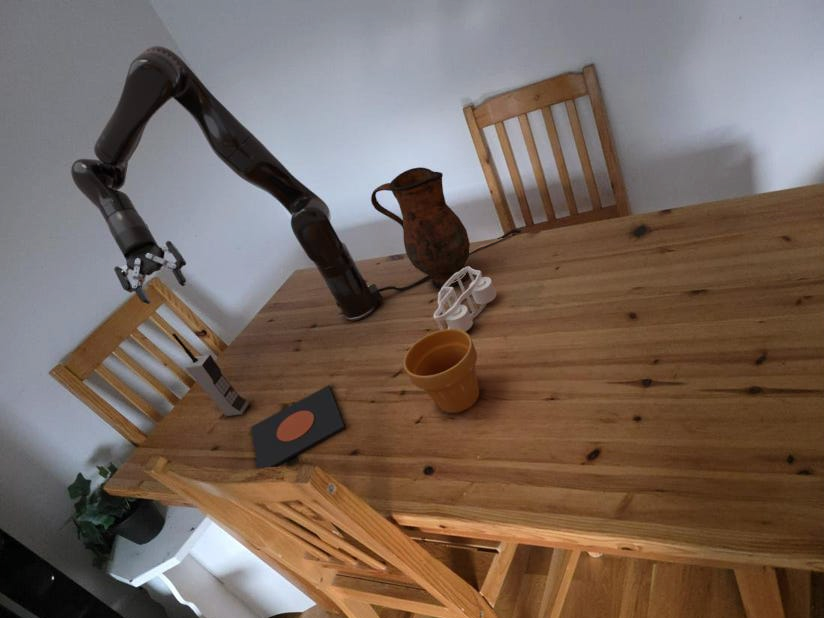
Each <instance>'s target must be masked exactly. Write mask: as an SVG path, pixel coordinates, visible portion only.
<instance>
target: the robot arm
mask: <svg viewBox="0 0 824 618" xmlns="http://www.w3.org/2000/svg"><path fill="white" fill-rule="evenodd" d="M172 99H173V100H175V101H176V102H177V103H178V104H179V105H180V106H181V107H182V108H184V110H185V111H187V112H188V113H189V115H190V116H191V117H192V118H193V119H194V121H195V122H196V123H197V125H198V127H199V128H200V130H201V132H202V134H203V136H204V138H205V139H206V141H207V144H208V145H209V146H210V148H211V150H212V151H213V153H214V154H215V155H216V156H217V158H218V159H219V160H221V162H223V163H224V164H225V165H226V166H227V167H228V168H229V169H230V170H231V171H232V172H233V173H234V174H235V175H237V176H238V177H239V178H240V179H242V180H244V181H246V182H247V183H249V184H251V185H253V186H255V187H256V188H258V189H260V190H262V191H264V192H266V193H268V194H269V195H271V196H272V197H273V198H274V199H275V200H277V201H278V202H279V203H280V204H281V206H283V208H284V209H285V210H286V211H287V212H288V213H289V214H290V215H291V216H290V227H291V230H292V234H293V235H294V236H295V239H296V240H297V242H298V243H299V245H300V246H301V248H302V250H303V251H304V253H305V254H306V257H308V259H309V260H311V262H313V264H314V265H315V267H316V269H317V270H318V273H319V274H320V276H321V278H322V279H323V281H324V282H325V284H326V286H327V288H328V290H329V291H330V292H331V295H332V296H333V298H334V300H335V302H336V306H337V307H338V308H339V309H340V310H341V312H342V314H343V317H344V318H345V319H346V320H347V321H349V322H356V321H360V320H363V319H366V317H368V316H370V315H371V314H372V313H373V312H374V311H375V310H376V309H378V308H379V305H378V302H377V301H379V300H381V299H383V296H382V293H381V292H385V291H388V290H393V291H398V292H401V291H402V292H403V291H406V290H409V289H412V288H414V287H416V286H419V285H420V284H421V283H423V282H425V281H426V280H428V279H430V278H432V277H433V276H430V275H426V276H424V277H423V278H421V279H418V280H417V281H415V282H413V283H411V284H409V285H407V286H403V287H397V286H394V285H393V286H385V287H381V288H378V287H377V285H376V284H375V283H373V284H371V285H368V284H367V282H366V280H365V278H364V277H363V275H362V273H361V272H360V270H359V268H358V266H357V264H356V262H355V260H354V258H353V256H352V253H350V251H349V248H348V247H347V244H346V243H345V241H343V240H341V239H340V237H339V235H338V234H337V232H336V230H335V229H334V226H333V225H332V223H331V218H332V217H331V216H332V215H331V210H330V207H329V206H328V204H327V203H326V202H325V201H324V200H323V199H322V198H321V197H320V196H318V195H317V194H316V193H315V192H313V191H312V190H311V189H310V188H308V187H307V186H306V185H305V184H304V183H303V182H301V181H300V180H299V179H297V178H296V177H295V176H294V175H293V174H292V173H291V172H290V171H289V169H287V167H286V166H285V165H284V164H283V163H282V162H281V161H280V160H279V159H278V158H277V157H276V156H275V155H274V154H273V153H272V152H271V151H270V150H269V149H268V148H267V147H266V146H265V145H264V143H262V141H261V140H260V139H259V138H257V137H256V136H255V135H254V133H253V132H251V131H250V130H249V129H248V128H247V127H246V126H245V125H244V124H242V123H241V122H240V120H238V119H237V118H236V117H235V116H234V114H233V113H231V111H230V110H229V109H228V108H226V106H224V104H223V103H222V102H220V100H218V99H217V97H215V95H214V94H213V93H211V91H210V90H209V89H208V88H207V86H205V85H204V83H203V82H202V81H201V80H200V78H199V77H198V76H197V75H196V73H194V71H193V70H192V69H191V68H190V67H189V66H188V65H187V63H186V62H185V61H184V60H183V59H182V57H180V56H179V55H178V54H177V53H176V52H174V51H173V50H171V49H170V48H168V47H165V46H161V45H154V46H149V47H148V48H147V49H145V50H143V52H141V53H140V54H139V55H137V56H136V57H135V58H134V59H133V60H132V61H131V63H130V64H129V67H128V70H127V74H126V77H125V81H124V85H123V89H122V91H121V94H120V98H119V100H118V103H117V105H116V107H115V109H114V111H113V113H112V115H111V116H110V118H109V119H108V121H107V122H106V124H105V126H104V127H103V129H102V130H101V133H100V134H99V136H98V138H97V139H96V142H95V143H94V145H93V146H94V147H93V153H94V155H95V156H96V158H97V159H93V158H79V159H76V160H74V162H72V165H71V168H70V175H71V178H72V181H73V183H74V184H75V186H76V188H77V189H78V190H79V191H80V192H81V193H82V194H83V195H84V196H85V197H86V198H87V200H89V201H90V202H91V203H92V205H94V206H95V207H96V208H97V209H98V210H99V212H100V214H101V216H102V217H103V219H104V221H105V223H106V225H107V227H108V230H109V232H110V234H111V236H112V238H113V239H114V241H115V243H116V245H117V246H118V248H119V250H120V252H121V254H122V255H123V257H124V259H125V261H126V264H124V265H122V266H118V265H117V266H114V268H113V270H114V272H115V275H116V277H117V278H118V281H119V283H120V286H121V287H122V289H123V290H124V291H126V292H128V293H133V292H135V294H136V295H137V297H138V299H139V301H141V302H142V303H144V304H147V305H149V304H151V303H152V301H151V300H150V297H149V296H148V294H147V293H146V291H145V289H143V287H144V282H146V278H147V277H146V276H151V275H153V274H154V273H156V272H159V271H161V270H162V268H163V267H164V268H166V269H168V270H171V272H172V274H173V275H174V277H175V279H176V280H177V283H178V284H179V285H180V286H181V287H184V286H186V283H187V279H186V277H185V275H184V273H183V272H182V270H181V269H182V268H183V267H185V266H186V265H187V261H186V260H185V259H184V257H183V256H182V254H181V253H180V250H178V248H177V247H176V245H175V244H174V243H173V242H172V241H170V240H166V241H165V244H164V245H163V246H159V244H158V242H157V241H156V239H155V238H154V236H153V233H152V232H151V230H150V228H149V226H148V224H147V223H146V221H145V220H144V219H143V217H142V216H141V215H140V213H139V212H138V210H137V208H136V206H135V204H134V203H133V201H132V199H131V198H130V196H129V195H128V194H127V193H126V192H124V191H120V189H122V188H123V187H124V186H125V184H126V179H127V172H128V167H129V162H130V160H131V159H132V157H133V155H134V154H135V152H136V150H137V149H138V147H139V145H140V143H141V141H142V139H143V135H144V132H145V129H146V127H147V126H148V123H149V122H150V120H151V119H152V118H153V116H155V114H156V113H157V112H158V111H159V110H160V109H161V108H162V107H164V105H165V104H166V103H167V102H169V101H171V100H172ZM515 233H516V234H521V233H522V230H519V229H511V230H509V231H507V232H506V233H505V234H503V235H502V236H500V237H497V238H496V239H500V238H504V239H506V238H507V237H508V236H510V235H511V234H515ZM166 252H167V253H168V254H171V255H172V256H173V258H174V259H175V260H176V261H175V262H171V261H169V260H167V259H165V253H166ZM129 270H131V271H132V272H133V273H132V283H131V282H130V279H129V277H128V276H129Z"/></svg>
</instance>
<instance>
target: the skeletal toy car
mask: <svg viewBox="0 0 824 618" xmlns="http://www.w3.org/2000/svg"><path fill="white" fill-rule="evenodd" d="M466 272H468V273H469V276H470V277H469V278H470V281H471V283H470V284H469V286H468V288H467V289H465V287H464V283H462V282H461V279H460V276H462V275H463V274H464V273H466ZM474 275H475V276H476V277H474ZM455 279H457V280H458V283H459V285H458V286H459V287H460V290H461V292H462V293H461V294H460V295H459V297H458V295H457V293H456V291H455V287H449V286H450V284H451V283H452V282H453V281H454V280H455ZM471 295H472V298H473V300H474V303H475V304H476V305H481V304H483V305H482V306H481V307H480V309H479V310H478V311H477V312H476V311H475V310H477V309H475V307H474V306H475V305H474V304H473V300H472V299H471V297H470V296H471ZM437 296H438V297H437V305H438V306H437V307H438V308H437V309H436V310H435V311H434V313H433V319H434V321H435V322H436V325H437V326H438V328H439V330H444V329H445V328H444V326H443V324H442V321H444V320H445V322H446V324H447V329H459V330H462V331H464V332H467V331H469V330H470V329H471V328H472V326H473V325H474V321H473V320H474V319H475V318H477V316H478V315H479V314H480V313H481V312H482V311H483V310H484V309H485V308H486V306H487V304H488V303H490V302H492V301H493V300H494V299H496V297H497V292H496V289H495V286H494V284H493V281H492V278H490V277H489V276H483V274H482V271H481V270H478V269H474V268H472V267H471V266H469V265H468V266H466V267H465V268H463V269H462V270H460V271H459V272H456V273H455V274H454V275H453V276H452V277H451V278H450V279H449V280H448V281H447V282H446V283H445V284H444V285H443V287H442V288H441V289H439V292H438V293H437ZM451 297H453V299H454V302H453V303H452V300H451ZM465 299H466V301H467V302H468V305H469V308H470V310H471V312H472V313H471V314H470V312H469V308H468V306H466V305H465V304H461V303H462V302H463V301H464V300H465ZM446 303H448V306H449V308H448V309H447V310H446V309H445V307H444V305H445V304H446ZM475 312H476V313H475ZM473 313H475V314H474V315H472V314H473ZM471 315H472V316H471Z"/></svg>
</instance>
